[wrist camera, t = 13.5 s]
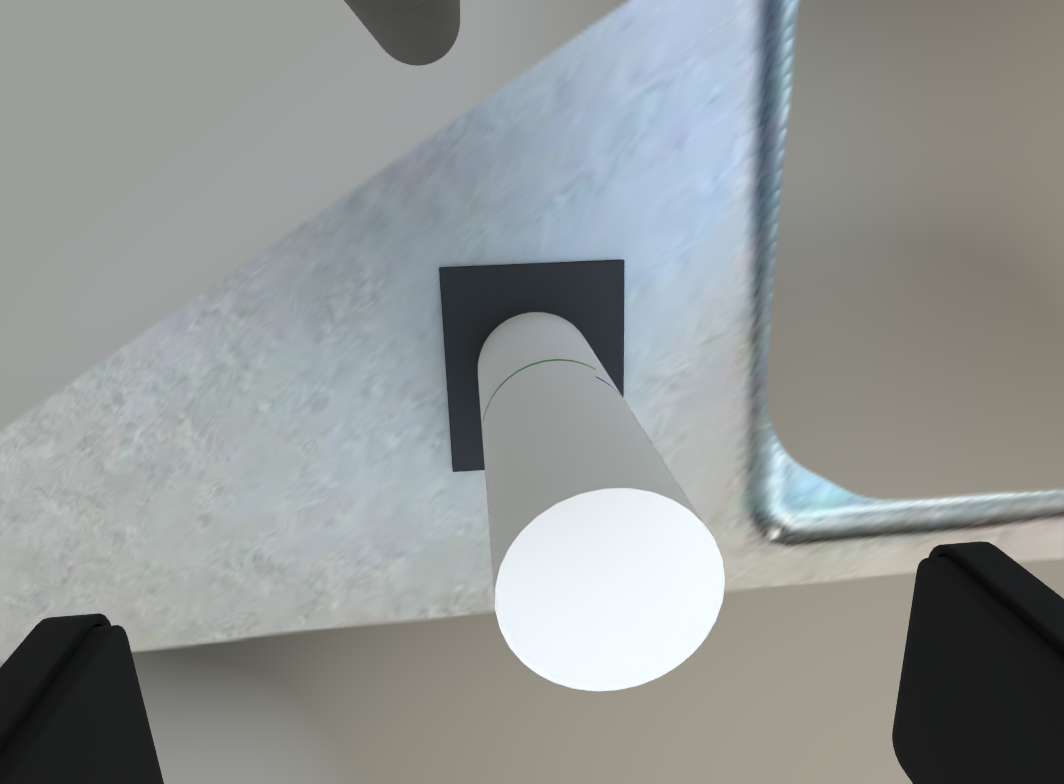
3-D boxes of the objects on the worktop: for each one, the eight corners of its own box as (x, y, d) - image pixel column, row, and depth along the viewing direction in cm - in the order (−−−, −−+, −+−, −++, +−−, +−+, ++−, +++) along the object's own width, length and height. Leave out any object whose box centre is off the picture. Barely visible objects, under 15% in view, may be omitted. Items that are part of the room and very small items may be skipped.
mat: (439, 267, 45) (439, 268, 45) (623, 259, 46) (624, 260, 46) (452, 470, 49) (452, 472, 49) (622, 459, 50) (623, 461, 50)
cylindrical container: (542, 444, 49) (619, 727, 25) (453, 377, 47) (446, 615, 23) (616, 359, 47) (771, 573, 24) (528, 288, 46) (600, 442, 22)
